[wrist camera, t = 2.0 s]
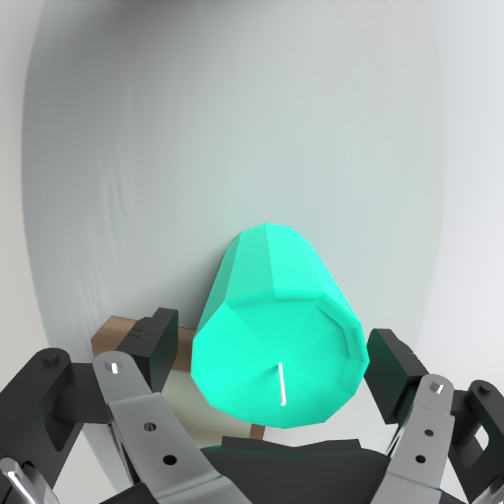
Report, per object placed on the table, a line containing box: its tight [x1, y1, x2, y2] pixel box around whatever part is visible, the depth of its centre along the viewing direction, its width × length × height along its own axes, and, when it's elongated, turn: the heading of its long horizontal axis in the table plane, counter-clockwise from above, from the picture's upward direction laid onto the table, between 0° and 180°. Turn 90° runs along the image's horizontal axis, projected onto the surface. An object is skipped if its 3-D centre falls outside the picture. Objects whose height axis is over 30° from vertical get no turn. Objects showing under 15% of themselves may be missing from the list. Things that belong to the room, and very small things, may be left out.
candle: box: [191, 223, 370, 429], centre depth 14 cm, size 6×6×12 cm
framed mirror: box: [91, 316, 265, 449], centre depth 21 cm, size 12×12×4 cm
